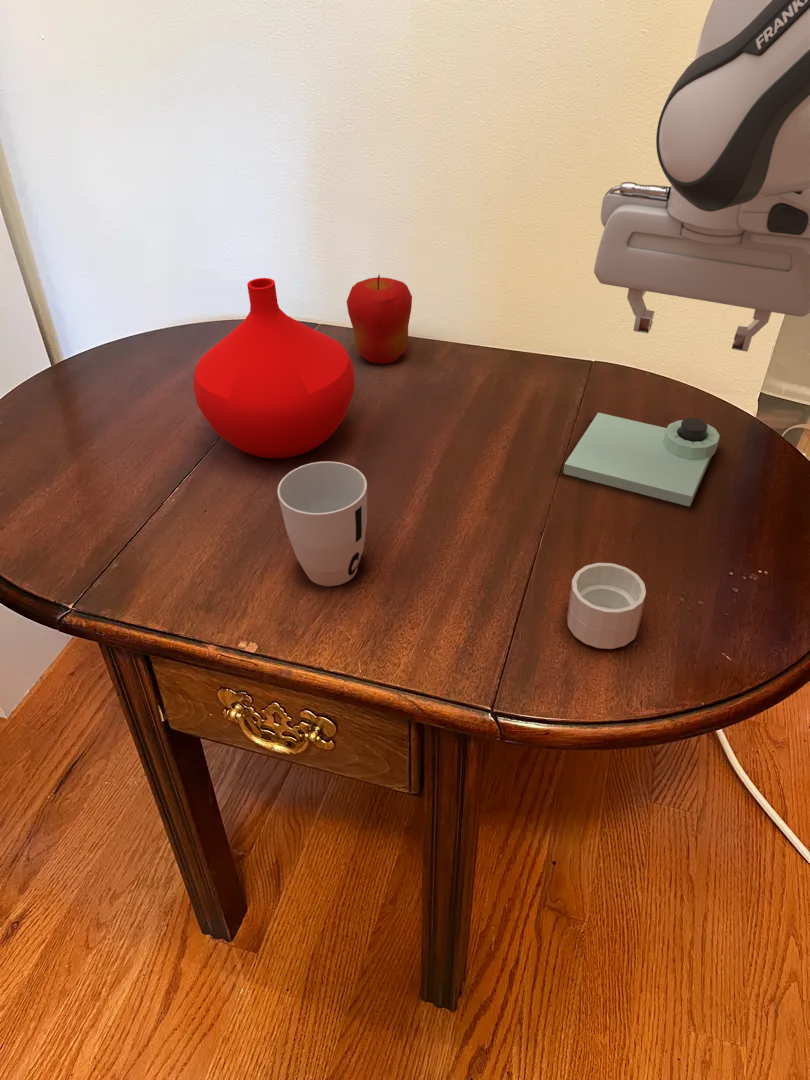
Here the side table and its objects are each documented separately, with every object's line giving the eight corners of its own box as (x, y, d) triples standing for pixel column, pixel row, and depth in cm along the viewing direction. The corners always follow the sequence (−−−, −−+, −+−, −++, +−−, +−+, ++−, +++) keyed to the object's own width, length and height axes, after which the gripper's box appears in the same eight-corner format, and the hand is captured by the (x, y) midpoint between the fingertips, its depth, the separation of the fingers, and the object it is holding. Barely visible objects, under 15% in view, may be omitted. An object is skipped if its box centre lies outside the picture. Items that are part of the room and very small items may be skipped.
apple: (415, 342, 119) (413, 261, 111) (410, 371, 113) (408, 287, 105) (355, 341, 120) (349, 260, 112) (347, 370, 113) (340, 286, 106)
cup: (370, 596, 79) (364, 513, 73) (285, 597, 79) (271, 514, 73) (374, 541, 85) (368, 460, 79) (295, 542, 86) (283, 461, 79)
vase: (360, 475, 94) (348, 315, 82) (197, 485, 94) (160, 326, 82) (356, 393, 108) (346, 247, 96) (214, 401, 108) (185, 255, 96)
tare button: (707, 432, 94) (710, 421, 93) (701, 445, 92) (704, 433, 91) (682, 427, 95) (684, 415, 94) (676, 439, 93) (678, 427, 92)
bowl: (645, 616, 76) (654, 575, 73) (625, 662, 72) (634, 621, 69) (579, 595, 78) (585, 555, 75) (556, 638, 74) (562, 597, 71)
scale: (718, 449, 96) (723, 426, 95) (693, 508, 88) (698, 484, 86) (597, 420, 102) (600, 399, 100) (563, 473, 94) (565, 451, 92)
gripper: (595, 189, 74) (577, 333, 83) (844, 221, 67) (795, 374, 76) (614, 169, 79) (595, 307, 88) (849, 197, 72) (803, 344, 81)
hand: (690, 339), depth 82 cm, fingers open, 8 cm apart
